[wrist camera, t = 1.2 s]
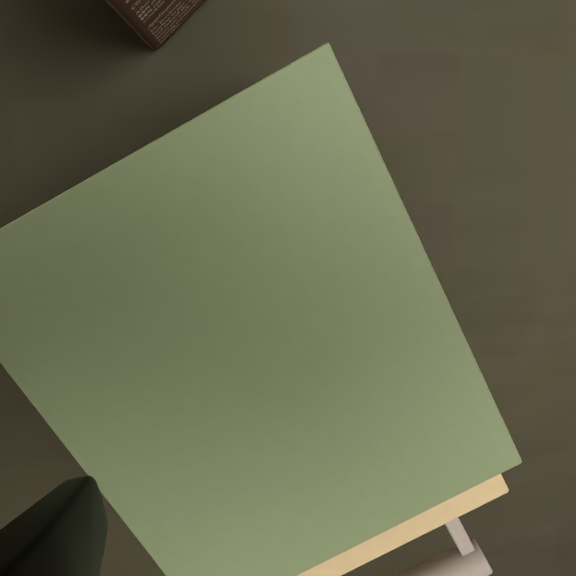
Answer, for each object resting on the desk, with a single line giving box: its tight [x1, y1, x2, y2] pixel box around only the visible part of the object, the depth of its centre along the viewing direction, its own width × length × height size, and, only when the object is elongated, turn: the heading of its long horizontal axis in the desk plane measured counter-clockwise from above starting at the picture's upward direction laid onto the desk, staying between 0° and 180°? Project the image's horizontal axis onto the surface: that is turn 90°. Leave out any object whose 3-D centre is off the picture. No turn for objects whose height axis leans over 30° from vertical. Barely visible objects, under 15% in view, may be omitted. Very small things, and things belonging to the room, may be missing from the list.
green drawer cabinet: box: [0, 43, 522, 576], centre depth 18 cm, size 14×12×8 cm
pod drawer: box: [297, 474, 508, 576], centre depth 19 cm, size 18×10×6 cm, turn 28°
